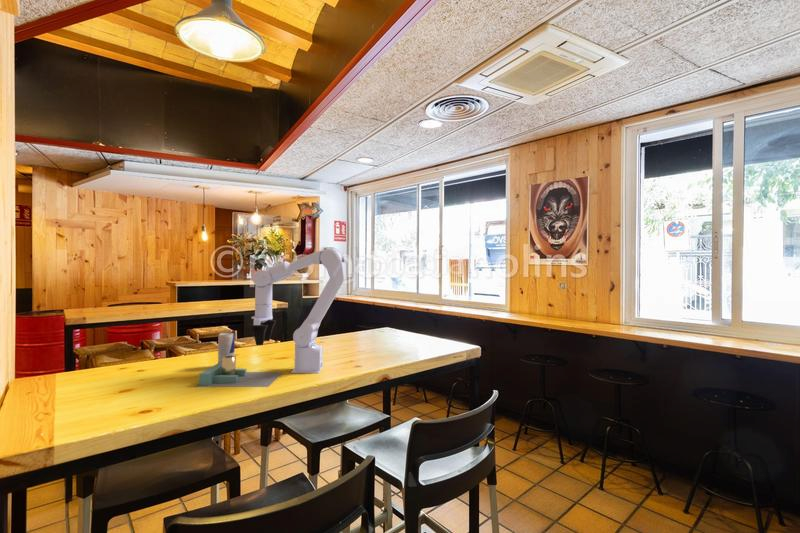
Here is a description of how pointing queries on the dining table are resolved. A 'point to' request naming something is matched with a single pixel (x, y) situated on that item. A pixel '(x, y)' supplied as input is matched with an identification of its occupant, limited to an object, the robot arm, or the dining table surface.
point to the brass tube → (229, 365)
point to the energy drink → (225, 345)
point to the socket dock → (219, 376)
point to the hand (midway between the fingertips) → (263, 342)
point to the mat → (250, 380)
